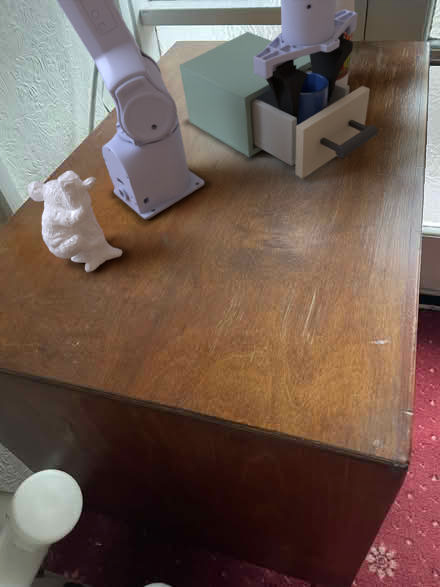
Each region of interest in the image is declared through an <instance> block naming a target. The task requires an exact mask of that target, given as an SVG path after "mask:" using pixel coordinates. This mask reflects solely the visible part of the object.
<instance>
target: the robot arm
mask: <svg viewBox="0 0 440 587" xmlns="http://www.w3.org/2000/svg"><path fill="white" fill-rule="evenodd" d="M56 2H57V4H58V5H59V7H60V8H61V10H62V12H63V13H64V15H65V16H66V18H67V20H68V22H69V23H70V24H71V26H72V28H73V29H74V31H75V32H76V34H77V36H78V37H79V39H80V41H81V42H82V44H83V46H84V47H85V49H86V51H87V52H88V53H89V55H90V57H91V58H92V60H93V63H94V64H95V66H96V69H97V70H98V73H99V74H100V77H101V80H102V81H103V83H104V85H105V87H106V89H107V91H108V93H109V95H110V97H111V98H112V100H113V103H114V107H115V111H116V118H117V122H116V126H115V127H116V133H115V134H114V135H113V137H112V138H111V139H110V140H109V141H108V142H106V143H105V144H104V145H103V146H102V148H101V155H102V157H103V160H104V163H105V166H106V169H107V172H108V174H109V177H110V179H111V182H112V185H113V188H114V189H113V194H115V195H116V196H117V197H118V198H119V199H120V200H122V201H123V202H124V203H125V204H126V205H127V206H129V207H130V208H131V209H132V210H133V211H134V212H135V213H136V214H138V215H139V216H140V217H141V218H143V219H144V220H149V219H151V218H153V217H154V216H156V215H158V214H159V213H161V212H162V211H164V210H165V209H167V208H169V207H171V206H173V205H174V204H175V203H177V202H179V201H181V200H182V199H184V198H186V197H187V196H189V195H190V194H192V193H193V192H195V191H197V190H199V189H200V188H201V187H203V186H204V185H205V180H204V179H202V178H201V177H199V176H198V175H197V174H195V173H194V172H192V171H191V170H189V165H188V160H187V156H186V150H185V146H184V142H183V141H184V140H183V136H182V131H181V125H180V122H179V121H180V120H179V116H178V108H177V104H176V102H175V99H174V98H173V96H172V95H171V93H170V92H169V90H168V88H167V85H166V83H165V81H164V79H163V77H162V73H161V69H160V67H159V65H158V63H157V61H156V60H155V59H154V58H153V57H152V56H150V55H149V54H147V53H146V52H145V51H144V50H142V48H140V46H139V44H138V42H137V41H136V39H135V37H134V35H133V34H132V32H131V30H130V28H129V27H128V25H127V23H126V22H125V20H124V17H123V16H122V15H121V14H122V13H121V12H120V10H119V7H118V6H117V5H116V2H115V1H114V0H56ZM335 8H336V0H280V16H281V17H280V21H281V22H280V23H281V24H280V26H281V27H280V28H281V31H280V33H279V34H278V35H276V37H275V38H274V39H273V40H271V41H272V42H271V43H270V44H269V45H268V46H267V47H266V48H265V49H264V50H263V51H261V52H260V53H259V54H257V55H255V56H253V62H254V74H256V75H258V76H260V77H262V78H265V79H266V80H267V82H268V84H269V85H270V87H271V89H272V91H273V94H274V96H275V99H276V102H277V105H278V108H279V110H281V111H283V112H285V113H287V114H289V115H291V116H293V117H295V118H298V111H299V99H300V93H301V89H302V86H303V83H304V80H305V78H306V76H307V73H305V72H303V71H300V70H298V69H296V65H294V60H295V59H297V58H299V57H302V56H306V55H310V60H311V67H312V73H318V74H321V75H323V76H325V77H326V78H327V79H328V80H329V87H328V101H327V103H328V102H329V100H330V97H331V94H332V91H333V88H334V85H335V82H336V80H337V77H338V75H339V72H340V70H341V68H342V66H343V64H344V63H345V61H346V59H347V58H348V56H349V55H350V56H351V54H350V53H352V52H353V50H354V49H353V47H354V42H353V40H352V41H350V40H347V39H344V33H345V32H346V33H352V32H353V33H354V32H356V31H357V24H358V12H356V11H354V12H352V11H349V10H345V9H344V10H342V11H340V12H337V13H335Z"/></svg>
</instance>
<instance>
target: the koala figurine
mask: <svg viewBox="0 0 440 587" xmlns="http://www.w3.org/2000/svg"><path fill="white" fill-rule="evenodd" d="M96 182H97V178H96V177H94V176H89V177H88V178H86V179H83V180H82V179H81V176H80V175H79V174H78V173H76V172H75V171H73V170H67V171H65V172H64V173H61V175H59V176H58V177H57V179H51V180H49V181H47V182H46V183H44V182H42V181H39V180H34V181H31V182H30V183H29V184H28V186H27V192H28V195H29V198H31V199H32V201H34V202H43V201H44V202H43V207H44V209H43V212H42V215H41V235H42V239H43V242H44V243H45V246H47V248H48V250H49V251H50V253H51V254H53V255H54V256H56V257H57V258H60V259H62V260H67V259H69V260H71V261H72V262H74V263H79V264H84V270H85V272H86V273H91V272H93V271H95V270H96V269H97V268H99V266H100V265H102V264H103V263H105V262H106V261H109V260H112V259H116V258H120V257H121V256H122V254H123V250H122V249H120V248H117V247H113V246H111V245H110V244H109V243H108V240H107V239H106V237H105V233H104V231H103V229H102V227H101V225H100V223H99V222H98V219H97V218H96V216H95V213H94V211H93V208H94V207H92V202H93V201H92V198H91V194H90V193H89V192H88V191H89V190H90V189H92V188H93V186H94V185H95V183H96Z"/></svg>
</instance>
